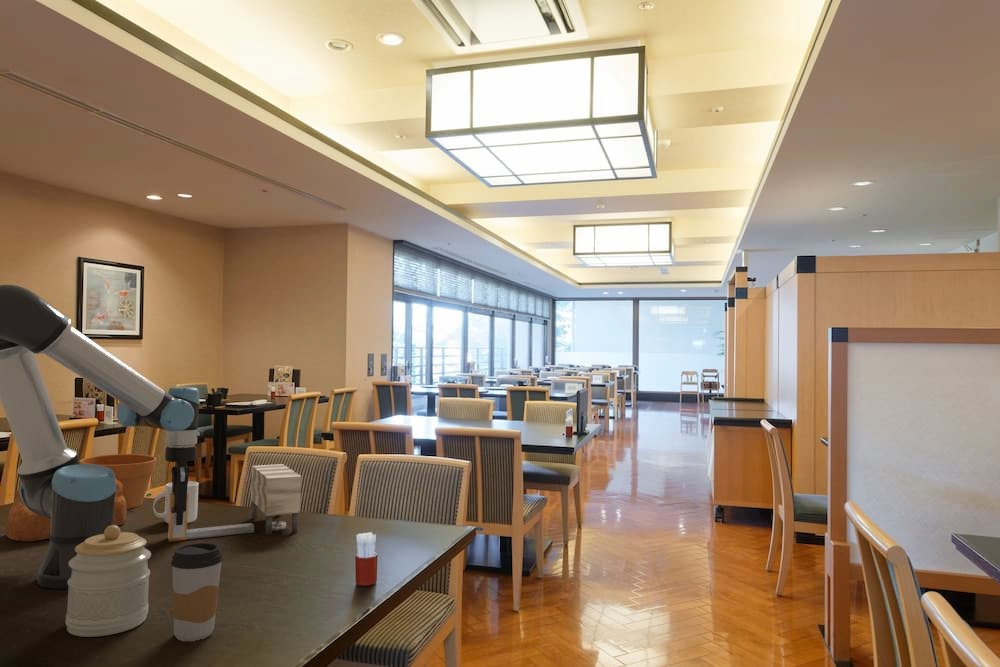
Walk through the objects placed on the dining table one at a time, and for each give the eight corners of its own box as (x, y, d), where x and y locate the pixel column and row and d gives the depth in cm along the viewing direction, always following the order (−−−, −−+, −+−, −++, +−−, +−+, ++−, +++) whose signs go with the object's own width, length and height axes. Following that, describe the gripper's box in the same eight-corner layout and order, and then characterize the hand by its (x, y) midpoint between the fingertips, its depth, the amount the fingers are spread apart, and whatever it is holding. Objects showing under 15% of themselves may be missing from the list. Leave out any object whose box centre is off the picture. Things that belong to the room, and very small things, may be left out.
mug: (147, 522, 189) (148, 484, 189) (190, 515, 197) (192, 480, 197) (156, 528, 182) (158, 489, 183) (201, 521, 191) (203, 484, 191)
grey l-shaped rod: (254, 532, 181) (256, 488, 182) (169, 541, 170) (171, 495, 171) (251, 529, 185) (253, 486, 185) (167, 537, 174) (170, 492, 174)
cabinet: (299, 532, 182) (301, 476, 183) (265, 536, 178) (267, 478, 178) (280, 514, 201) (282, 464, 202) (249, 517, 197) (252, 465, 197)
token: (287, 530, 185) (288, 524, 185) (269, 532, 183) (269, 526, 183) (283, 526, 190) (284, 520, 190) (265, 528, 187) (266, 522, 187)
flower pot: (169, 502, 214) (171, 456, 214) (115, 516, 193) (118, 466, 194) (117, 496, 219) (119, 452, 220) (59, 510, 199) (62, 461, 200)
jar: (161, 610, 126) (165, 517, 127) (124, 639, 113) (129, 535, 114) (92, 609, 126) (96, 516, 126) (47, 638, 113) (53, 534, 113)
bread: (131, 525, 185) (133, 470, 186) (20, 545, 164) (23, 483, 164) (108, 517, 193) (111, 464, 194) (0, 535, 172) (3, 475, 173)
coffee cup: (205, 620, 122) (209, 539, 122) (228, 634, 116) (232, 548, 117) (159, 634, 115) (163, 548, 116) (181, 649, 110) (185, 558, 110)
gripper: (201, 449, 169) (196, 541, 168) (193, 440, 183) (189, 525, 182) (168, 450, 165) (163, 544, 164) (163, 441, 179) (158, 528, 178)
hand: (177, 534), depth 173 cm, fingers closed on grey l-shaped rod, 4 cm apart
